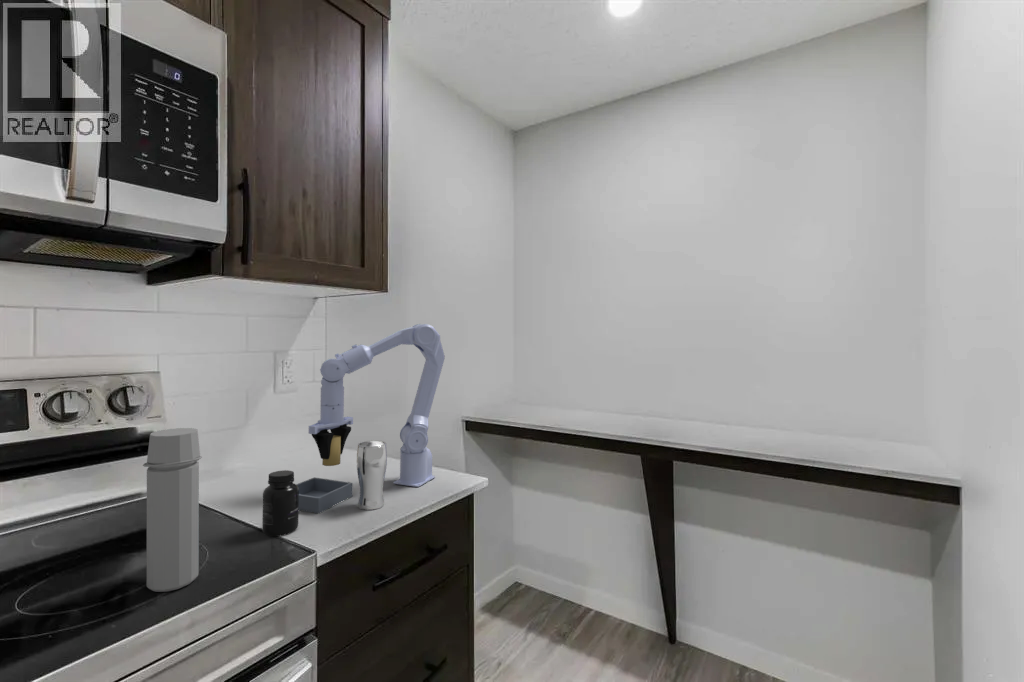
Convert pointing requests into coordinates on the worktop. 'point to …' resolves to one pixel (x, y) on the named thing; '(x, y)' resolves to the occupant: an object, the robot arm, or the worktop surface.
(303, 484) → the bin
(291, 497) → the supplement bottle
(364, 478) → the beer glass
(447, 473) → the worktop surface
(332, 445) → the peg
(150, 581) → the water bottle
